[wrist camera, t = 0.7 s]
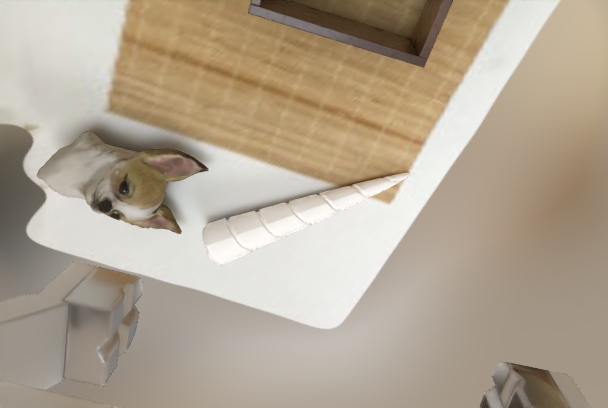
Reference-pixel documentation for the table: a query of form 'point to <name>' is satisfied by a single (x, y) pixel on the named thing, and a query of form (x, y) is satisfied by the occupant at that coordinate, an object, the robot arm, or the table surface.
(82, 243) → the table surface
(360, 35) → the crate
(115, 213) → the ceramic sculpture
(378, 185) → the unicorn horn
